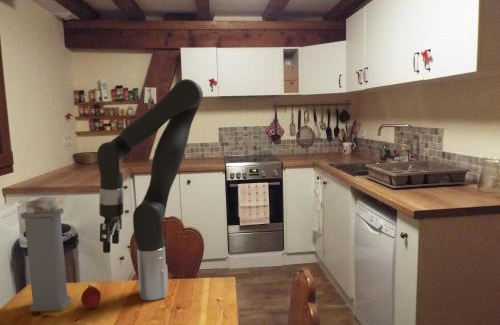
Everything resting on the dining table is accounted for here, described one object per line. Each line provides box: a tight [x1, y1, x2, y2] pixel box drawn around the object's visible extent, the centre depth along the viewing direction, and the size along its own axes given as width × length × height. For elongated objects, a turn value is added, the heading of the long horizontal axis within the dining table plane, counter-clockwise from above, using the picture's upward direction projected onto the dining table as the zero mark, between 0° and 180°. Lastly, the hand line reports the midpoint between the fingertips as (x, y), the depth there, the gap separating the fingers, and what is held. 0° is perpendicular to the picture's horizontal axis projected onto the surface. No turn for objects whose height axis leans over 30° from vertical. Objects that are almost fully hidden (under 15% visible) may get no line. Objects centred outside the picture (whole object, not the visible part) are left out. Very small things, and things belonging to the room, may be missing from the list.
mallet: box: [25, 196, 64, 214], centre depth 119 cm, size 7×14×4 cm, turn 2°
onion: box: [80, 283, 102, 309], centre depth 118 cm, size 6×6×8 cm
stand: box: [20, 207, 72, 312], centre depth 117 cm, size 10×6×32 cm, turn 92°
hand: (111, 247), depth 124 cm, fingers open, 8 cm apart
